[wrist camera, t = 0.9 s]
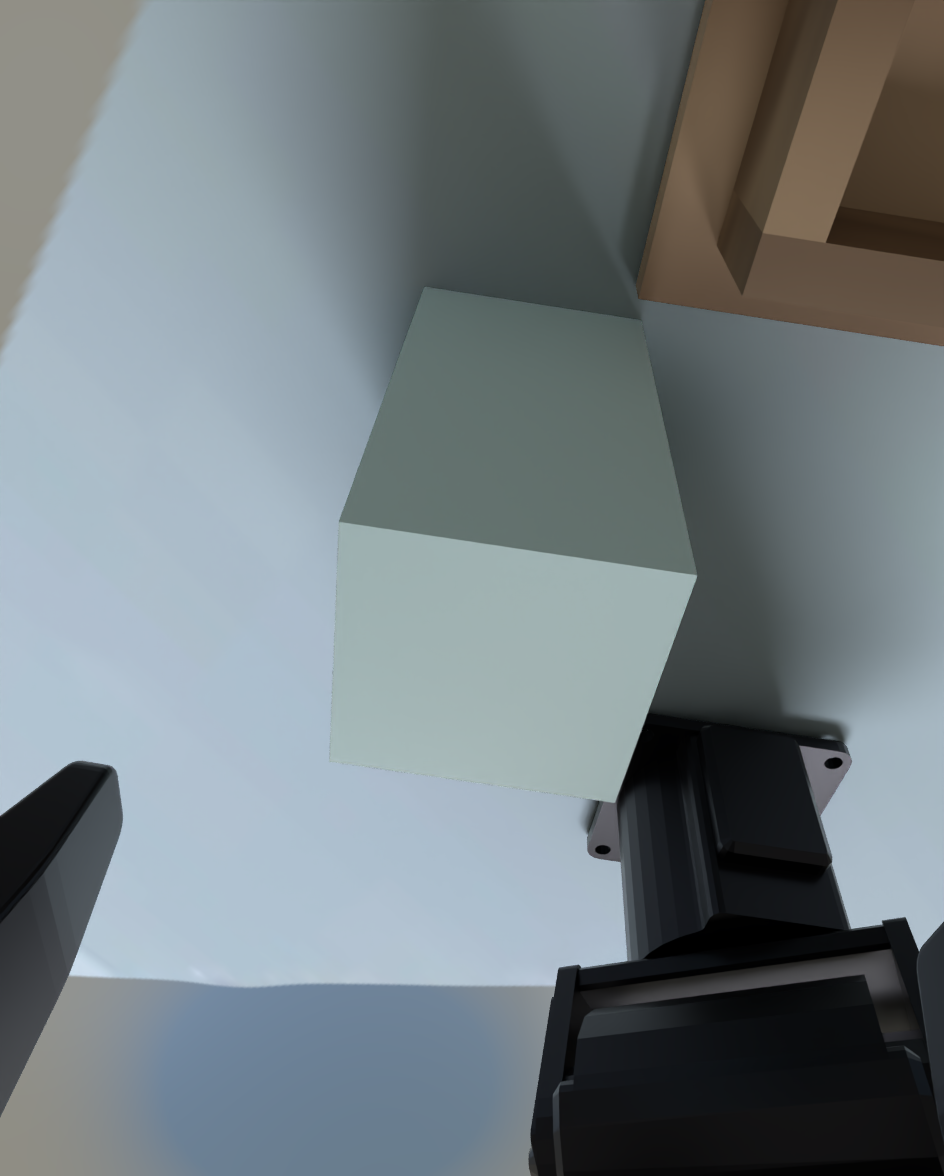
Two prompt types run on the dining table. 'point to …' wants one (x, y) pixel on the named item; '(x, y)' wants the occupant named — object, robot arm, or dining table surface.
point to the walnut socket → (808, 168)
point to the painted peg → (509, 553)
